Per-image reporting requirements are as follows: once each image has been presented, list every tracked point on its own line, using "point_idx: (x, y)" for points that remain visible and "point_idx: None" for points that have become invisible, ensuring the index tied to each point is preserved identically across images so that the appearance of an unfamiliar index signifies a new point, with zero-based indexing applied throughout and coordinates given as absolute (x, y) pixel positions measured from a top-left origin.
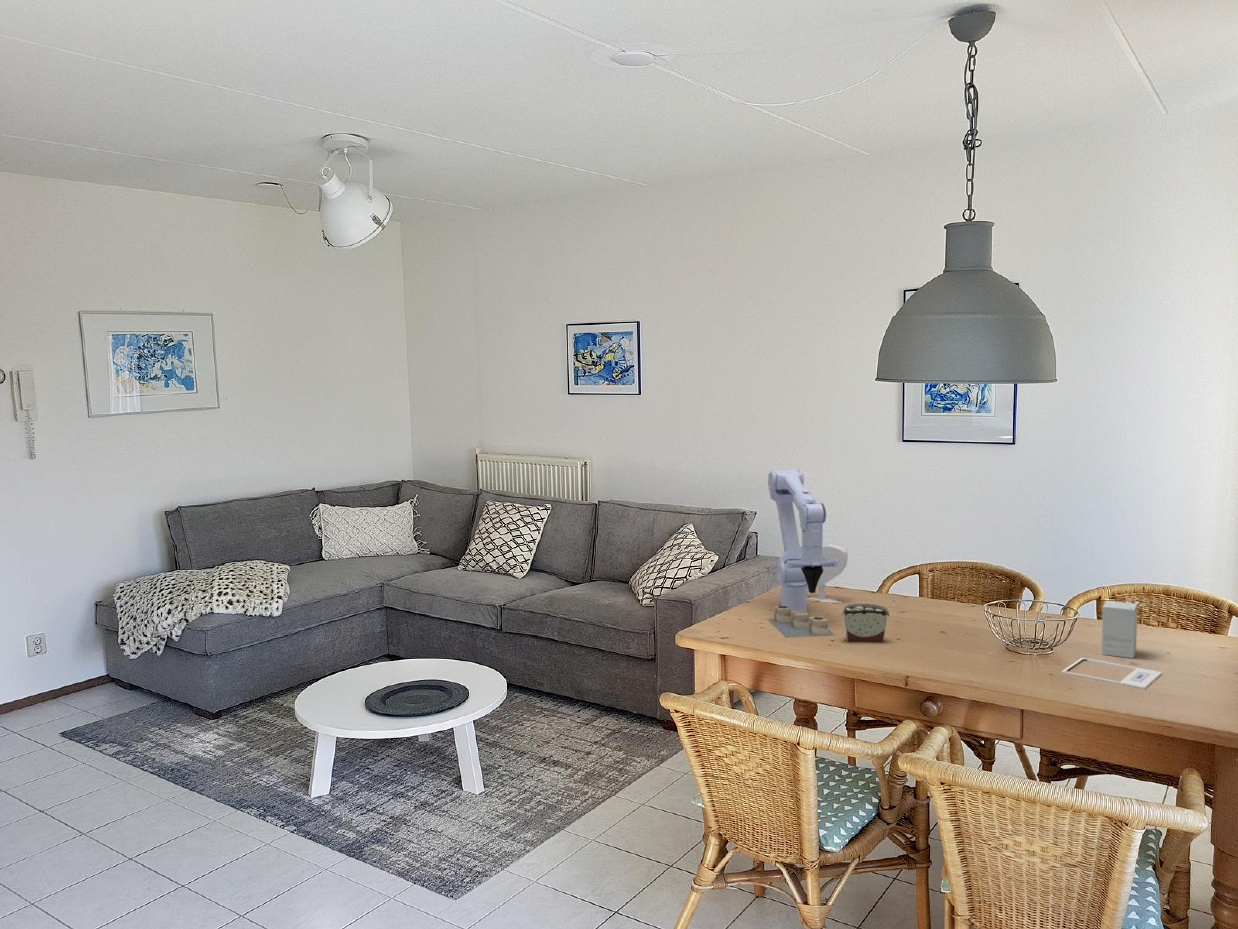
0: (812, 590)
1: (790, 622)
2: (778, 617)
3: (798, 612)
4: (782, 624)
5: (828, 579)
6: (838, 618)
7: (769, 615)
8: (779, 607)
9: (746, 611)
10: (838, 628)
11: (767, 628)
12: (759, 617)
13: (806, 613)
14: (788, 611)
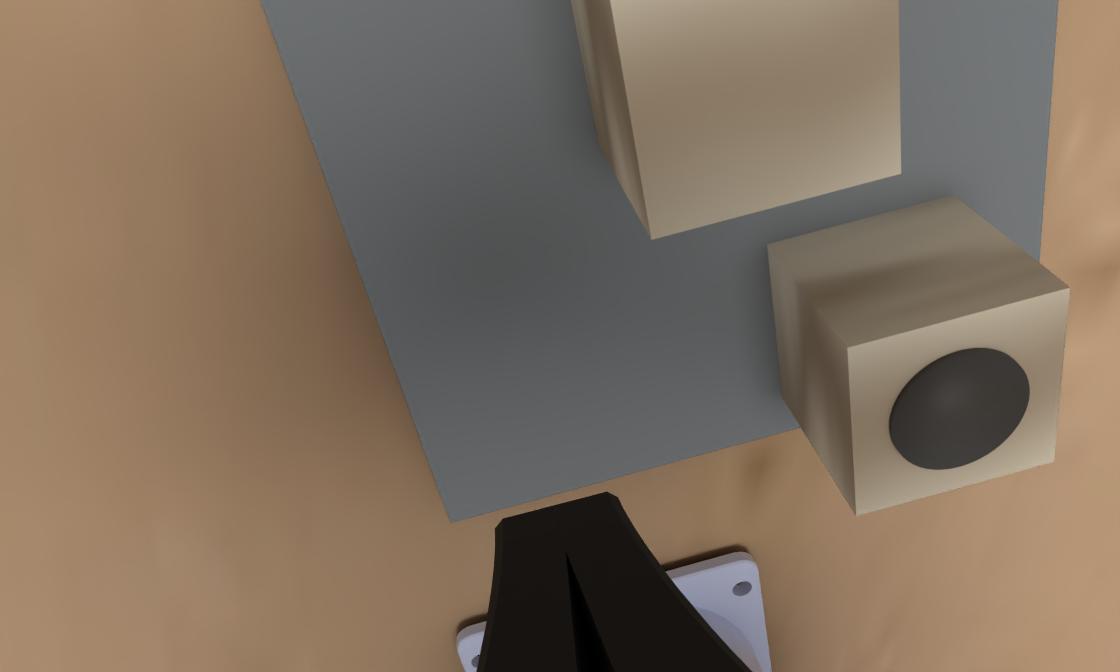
0: (583, 533)
1: (782, 233)
2: (988, 229)
3: (789, 108)
4: (918, 115)
5: None
6: (124, 585)
7: (906, 568)
8: (1024, 369)
9: (1080, 650)
10: (68, 123)
11: (1109, 31)
12: (1031, 488)
13: (651, 37)
14: (877, 312)
